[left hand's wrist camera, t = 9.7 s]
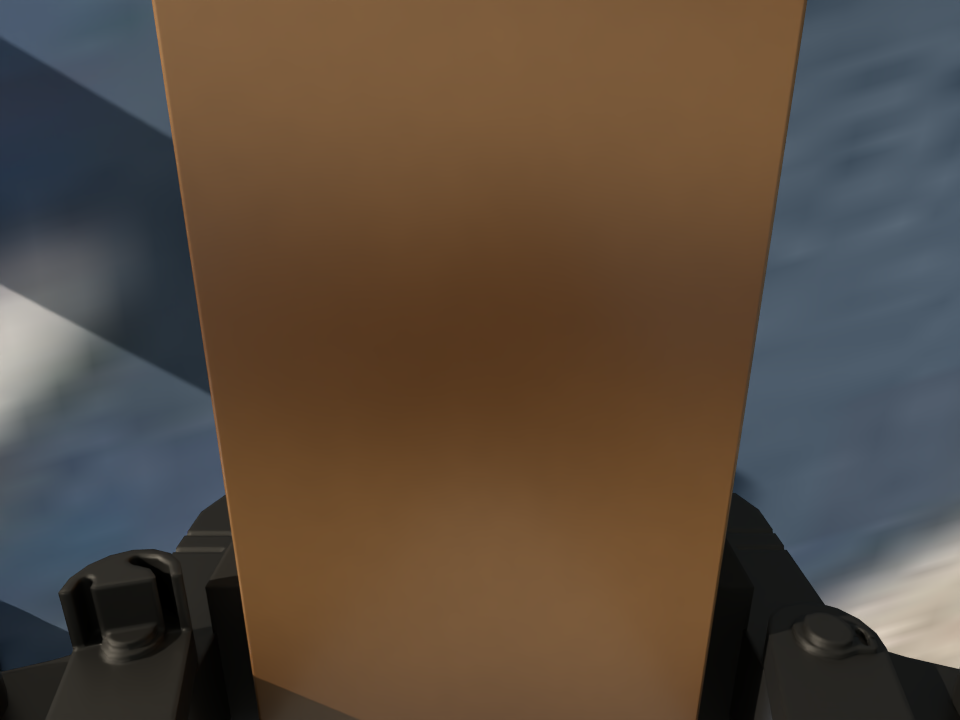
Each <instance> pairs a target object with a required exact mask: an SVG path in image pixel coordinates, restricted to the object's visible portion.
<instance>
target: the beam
mask: <svg viewBox="0 0 960 720" xmlns="http://www.w3.org/2000/svg"><path fill="white" fill-rule="evenodd" d="M152 4H153V11H154V18H155V24H156V31H157V38H158V45H159V51H160V58H161V65H162V71H163V78H164V85H165V91H166V98H167V105H168V111H169V118H170V125H171V131H172V138H173V145H174V152H175V158H176V165H177V172H178V178H179V185H180V192H181V198H182V205H183V212H184V218H185V225H186V232H187V238H188V245H189V252H190V259H191V265H192V272H193V279H194V285H195V292H196V299H197V305H198V312H199V319H200V325H201V332H202V339H203V345H204V352H205V359H206V366H207V372H208V379H209V386H210V392H211V399H212V406H213V412H214V419H215V426H216V432H217V439H218V446H219V453H220V459H221V466H222V473H223V479H224V486H225V493H226V499H227V506H228V513H229V519H230V526H231V533H232V539H233V546H234V553H235V560H236V566H237V573H238V580H239V586H240V593H241V600H242V606H243V613H244V620H245V626H246V633H247V640H248V646H249V653H250V660H251V667H252V673H253V680H254V687H255V693H256V700H257V707H258V713H259V720H698V715H699V709H700V702H701V696H702V689H703V682H704V676H705V669H706V663H707V656H708V649H709V643H710V636H711V630H712V623H713V617H714V610H715V603H716V597H717V590H718V584H719V577H720V570H721V564H722V557H723V551H724V544H725V538H726V531H727V524H728V518H729V511H730V505H731V498H732V492H733V485H734V478H735V472H736V465H737V459H738V452H739V445H740V439H741V432H742V426H743V419H744V413H745V406H746V399H747V393H748V386H749V380H750V373H751V367H752V360H753V353H754V347H755V340H756V334H757V327H758V320H759V314H760V307H761V301H762V294H763V288H764V281H765V274H766V268H767V261H768V255H769V248H770V241H771V235H772V228H773V222H774V215H775V209H776V202H777V195H778V189H779V182H780V176H781V169H782V163H783V156H784V149H785V143H786V136H787V130H788V123H789V116H790V110H791V103H792V97H793V90H794V84H795V77H796V70H797V64H798V57H799V51H800V44H801V38H802V31H803V24H804V18H805V11H806V5H807V0H152Z"/></svg>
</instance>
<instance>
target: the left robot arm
mask: <svg viewBox="0 0 960 720" xmlns="http://www.w3.org/2000/svg"><path fill="white" fill-rule="evenodd" d="M772 530H773V529H772V528H771V527H770V525H769V524H768V522H767V521H766V519H765V518H764V516H763V515H762V514H761V512H760V511H759V510H758V509H757V508H756V507H754V506H753V505H751V504H750V503H749V502H747V501H746V500H744V499H743V498H741V497H740V496H739V495H737V494H736V493H732V498H731V505H730V511H729V518H728V524H727V531H726V538H725V544H724V551H723V557H722V564H721V570H720V577H719V584H718V590H717V597H716V603H715V610H714V617H713V623H712V630H711V636H710V643H709V649H708V656H707V663H706V669H705V676H704V682H703V689H702V696H701V702H700V709H699V715H698V720H960V669H956V668H952V667H947V666H943V665H939V664H934V663H930V662H925V661H921V660H917V659H912V658H908V657H904V656H901V655H898V654H894V653H891V652H888V651H887V648H886V647H885V645H884V644H883V642H882V641H881V639H880V638H879V636H878V635H877V634H876V633H875V632H874V631H873V630H872V629H871V628H869V627H868V626H867V625H866V624H864V623H863V622H862V621H861V620H859V619H858V618H856V617H854V616H852V615H850V614H848V613H846V612H844V611H842V610H840V609H838V608H834V607H831V606H827V605H825V604H824V603H823V601H822V600H821V599H820V597H819V596H818V594H817V593H816V591H815V590H814V588H813V587H812V586H811V584H810V583H809V581H808V580H807V578H806V577H805V576H804V574H803V573H802V571H801V570H800V568H799V567H798V565H797V564H796V563H795V561H794V560H793V558H792V557H791V555H790V554H789V552H788V551H787V550H784V545H783V544H782V542H781V541H780V540H779V538H778V537H777V535H776V534H775V533H773V531H772ZM58 594H59V597H60V601H61V605H62V609H63V612H64V616H65V620H66V624H67V627H68V631H69V635H70V639H71V642H72V646H73V652H72V654H71V655H69V656H65V657H62V658H59V659H55V660H51V661H47V662H43V663H38V664H34V665H30V666H25V667H21V668H17V669H12V670H8V671H3V672H1V670H0V720H259V713H258V707H257V700H256V693H255V687H254V680H253V673H252V667H251V660H250V653H249V646H248V640H247V633H246V626H245V620H244V613H243V606H242V600H241V593H240V586H239V580H238V573H237V566H236V560H235V553H234V546H233V539H232V533H231V526H230V519H229V513H228V506H227V499H226V495H224V496H223V497H222V498H220V499H219V500H217V501H216V502H215V503H213V504H212V505H210V506H209V507H208V508H206V509H205V510H203V511H202V512H201V513H200V514H199V516H198V517H197V519H196V520H195V522H194V523H193V525H192V526H191V527H190V529H189V530H188V534H187V536H184V538H183V539H182V540H181V542H180V543H179V545H178V546H177V548H176V552H173V554H171V553H167V552H163V551H159V550H155V549H145V550H131V551H127V552H122V553H118V554H114V555H110V556H108V557H106V558H103V559H101V560H99V561H97V562H94V563H92V564H90V565H88V566H86V567H85V568H83V569H82V570H81V571H79V572H78V573H76V574H75V575H74V576H72V577H71V578H70V579H69V580H68V581H67V582H66V584H65V585H64V586H63V588H62V589H61V590H60V591H59V593H58Z"/></svg>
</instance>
